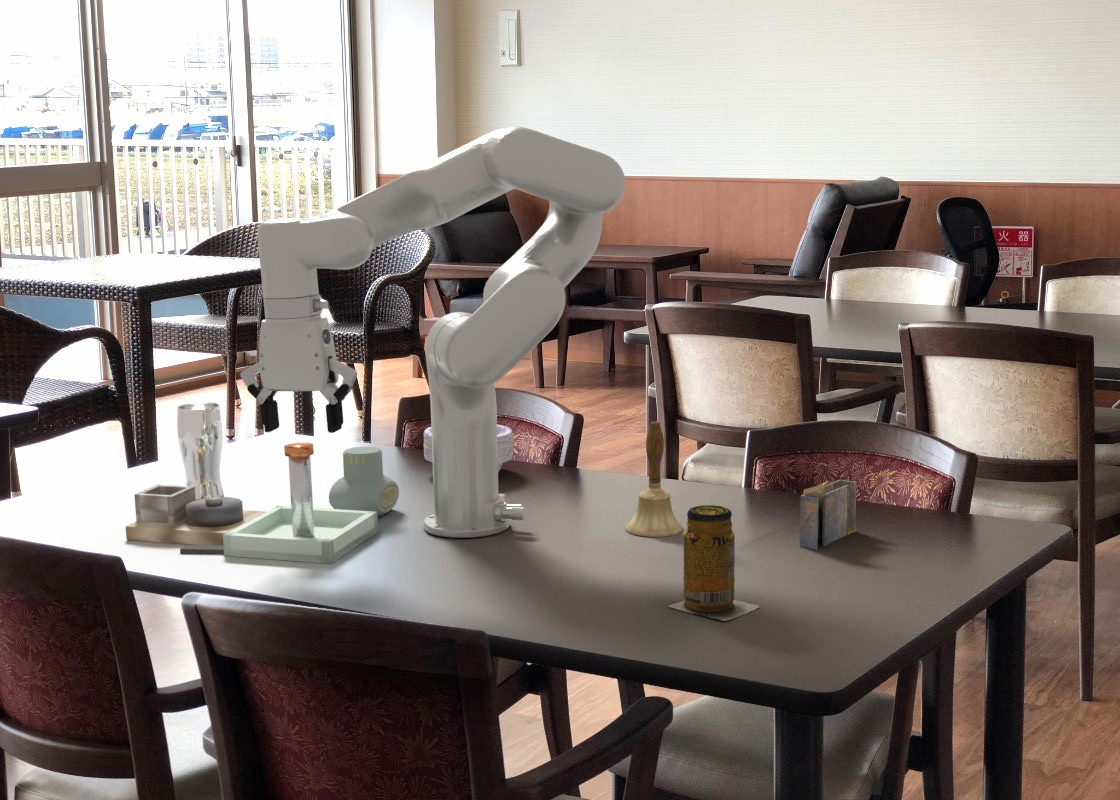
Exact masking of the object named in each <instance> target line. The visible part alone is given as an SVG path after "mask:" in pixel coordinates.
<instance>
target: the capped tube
mask: <svg viewBox="0 0 1120 800" xmlns="http://www.w3.org/2000/svg"><path fill="white" fill-rule="evenodd" d="M283 448H284V456H285V457H288V470H289V471H288V473H289V476H288V477H289V489H290V490H289V492H290V506H291V512H292V530H293V537H302V538H313V537H314V519H313V508H314V506H313V505H314V504H313V486H312V485H313V484H312V483H313V482H312V481H313V480H312V467H311V466H312V465H311V456H312V455H314V453H315V452H314V444H313V443H311V442H294V443H293V442H292V443H288V444H285V445H284V447H283Z"/></svg>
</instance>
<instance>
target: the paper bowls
mask: <svg viewBox="0 0 1120 800" xmlns="http://www.w3.org/2000/svg"><path fill="white" fill-rule="evenodd" d="M513 434H514V433H513V429H511V427H508V426H506V425H502V424H499V423H498V424H497V455H498V473H499V472H500V470H501V469H502V467H503V463H508V462H509V461H511V460H512V458H513V455H514V454H513V453H514V451H513V450H514V449H513V448H514V447H513V445H514V444H513V443H514V441H513V440H514V439H513V438H514V437H513ZM423 456H424V459H425V460H426V461H428V462H430V463H433V462H432V432H431V426H430V427H426V429H424V431H423Z"/></svg>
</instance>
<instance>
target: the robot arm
mask: <svg viewBox="0 0 1120 800" xmlns="http://www.w3.org/2000/svg"><path fill="white" fill-rule="evenodd" d="M512 190H517V191H520V192H522V193H523V192H524V193H526V194H529V195H532V196H535V197H537V198H541V199H543V200H546V201H549V208H548V212H547V215H546V219H545V220H544V221H543V224H542V225H541V226H540V227H539V229H537V231H536V232H535V233H534V234H533V236H531V237H530V239H528V240H527V242H526V243H525V244H523V245H522V246H521V247H520V248H519V249H518V250H517V251H515V253H514V254H513V255H512V256H511V257H509V258H508V259H507V260H506V261H505V262H504V263H503V264H502V265H501V266H500V267H498V268H497V269H496V270H495V271H493V273H492V274H491V275H490V276H489V278H488V279H487V281H486V282H485V286H484V288H483V293H482V295H483V303H482V304H481V305H479V307H478V308H477V309H476V310H475V311H474V312H473V313H470V312H465V311H456V312H455V311H454V312H451V313H447V314H445V315H443V316H441V317H440V318H439V319H438V320H437V321H435V323H433V325H432V326H431V328H430V330H429V332H428V334H427V337H426V342H425V362H426V363H425V364H426V370H427V376H428V377H427V378H428V386H429V399H430V401H429V402H430V419H431V421H430V422H431V426H430V427H431V432H432V462H431V463H432V487H433V513H432V514H430V515H428V516H427V517H426V518H425V519H424V520H423V529H424V530H425V531H426V532H427V533H429V534H431V535H435V536H439V537H443V538H454V539H463V538H464V539H465V538H467V539H468V538H479V537H488V536H493V535H496V534H499V533H502V532H504V531H506V530H508V528H509V527H510V525H511V521H510V520H512V521H525V520H526V517H527V510H526V506H524V507H523V504H519V503H516V504H515V503H513V504H512V503H510V504H509V503H508V502H507V501H506V497H505V495H506V494H505V493H499V472H498V455H497V423H498V412H497V411H498V410H497V409H498V407H497V393H496V385H495V384H496V383H497V382H498V381H499V380H501V379H502V378H504V377H505V376H506V375H507V374H509V372H510V371H511V370H512V369H514V368H515V367H516V366H517V365H518V364H519V363H520V362H521V361H522V360H523V359H524V358H525V357H527V355H528V354H529V353H530V352H531V351H532V350H533V349H534V348H536V347H537V346H538V344H539V343H541V342H542V341H543V340H544V339H545V338H546V336H548V334H550V332H552V331H553V330H554V328H555V327H556V325H557V324H558V322H559V321H560V319H561V317H562V315H563V313H564V311H565V306H566V292H565V288H566V286H568V285H569V284H570V283H571V281H572V280H573V279H574V278H575V277H576V276H577V275H578V274H579V273H580V272H581V271H582V269H584V267H585V266H586V265H587V263H588V262H589V261H590V260H591V259H592V257H593V256H594V254H595V252H596V251H597V248H598V245H599V243H600V239H601V235H602V230H603V218H604V214H606V213H607V212H610V211H611V210H613V209H614V208H615V207H616V206H618V205H619V204H620V202H621V200H622V199H623V197H624V195H625V192H626V175H625V172H624V171H623V168H622V167H621V166H620V164H619V163H618V162H617V161H616V159H614V158H613V157H611V156H610V155H608V154H606V153H603V152H600V151H598V150H594V149H592V148H588V147H585V146H581V145H578V144H576V143H573V142H569V141H567V140H563V139H561V138H558V137H555V136H552V135H549V134H546V133H543V132H541V131H537V130H535V129H531V128H528V127H523V126H519V127H518V126H514V127H504V128H499V129H496V130H493V131H491V132H489V133H486V134H484V135H482V136H480V137H478V138H476V139H474V140H472V141H470V142H468V143H467V144H464V145H462V146H461V147H459V148H456V149H454V150H452V151H450V152H447V153H446V154H444V155H442V156H439V157H438V158H436V159H434V160H432V161H429V162H428V163H425V164H423V165H421V166H419V167H417V168H415V169H413V170H411V171H408V172H406V173H405V174H403V175H401V176H399V177H398V178H396V179H394V180H392V181H390V182H388V183H385V184H383V185H382V186H379V187H377V188H375V189H373V190H371V191H369V192H366V193H364V194H362V195H360V196H358V197H356V198H353V199H351V200H349V201H348V202H346V203H343V204H341V205H339V206H337V207H336V208H334V209H332V210H329V211H328V212H326V213H323V214H322V215H321V216H319V218H317V219H310V220H308V219H305V218H301V217H287V218H274V219H273V218H272V219H268V220H267V219H266V220H265V221H262V222H260V224H259V225H258V227H257V230H256V231H257V232H256V235H257V244H258V245H257V246H258V257H259V265H260V266H259V267H260V276H261V287H262V298H263V307H264V317H265V318H264V319H262V320H261V326H260V333H259V346H258V347H259V349H258V350H259V351H258V353H259V354H258V355H259V357H258V359H259V360H258V362H256V363H254V364H253V365H251V366H249V367H247V368H246V369H244V370H242V371H241V372H240V375H239V376H240V378H241V379H242V381H243V383H244V385H245V386H246V389H247V391H248V393H250V395H252V397H253V398H255V402H256V404H258V405H260V414H261V415H260V416H261V424H262V425H263V428H264V433H271V432H273V431H275V430H277V429H279V428H280V419H279V418H280V417H279V408H278V402H277V399H276V400H275V399H274V397H275V396H276V394H277V393H278V392H318V391H319V393H320V394H321V395H322V396H324V398H325V400H327V401H328V403H327V404H326V405H325V415H326V426H327V427H326V428H327V432H328V433H329V434H330V433H331V434H333V433H336V432H337V431H340V430H342V427H343V424H344V412H343V402H342V401H344V400H345V398H346V397H347V395H349V393H351V391H352V390H353V386H354V384H355V381H356V379H357V376H358V371H357V370H356V369H354V368H353V367H350V366H349V365H346V364H345V363H343V362H341V361H339V360H338V359H337V354H336V353H337V352H336V347H335V342H334V339H333V337H334V336H333V334H332V330H331V327H330V323H329V320H328V318H327V316H322V315H321V314H322V311H324V310H326V311H327V310H328V309H329V301H328V299H325V300H324V299H322V298H321V294H319V292H320V291H319V281H318V270H317V269H326V270H327V269H329V270H351V269H355V268H359V266H361V265H364V264H365V262H366V261H368V259H369V258H370V256H371V254H372V252H373V249H374V248H376V247H378V246H380V245H382V244H384V243H386V242H388V241H390V240H393V239H395V238H397V237H400V236H403V235H406V234H408V233H412V232H415V231H419V230H424V229H430V228H434V227H438V226H441V225H444V224H446V223H449V222H451V221H453V220H455V219H457V218H459V217H460V216H463V215H464V214H466V213H468V212H470V211H472V210H474V209H476V208H477V207H480V206H482V205H484V204H486V203H488V202H489V201H492V200H494V199H496V198H499V197H500V196H502V195H504V194H506V193H508V192H510V191H512ZM258 374H260V375H259V376H260V382H261V384H260V383H259V382H257V378H256V375H258ZM339 375H340V376H341V377H342V379H343V380H342V383H341V385H340V386H337V383H338V382H339Z"/></svg>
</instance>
